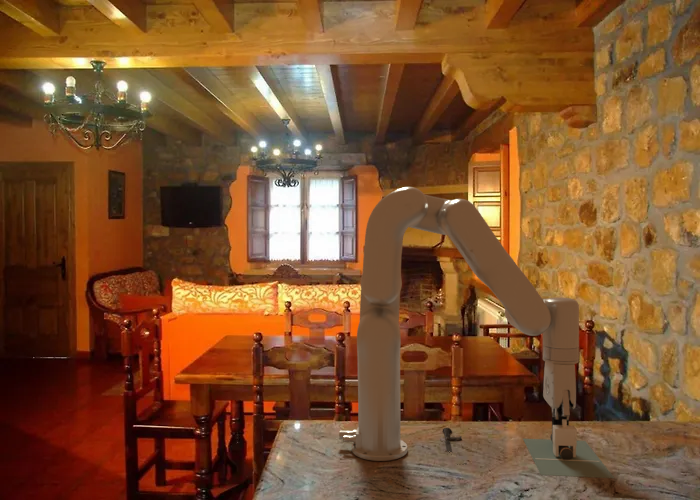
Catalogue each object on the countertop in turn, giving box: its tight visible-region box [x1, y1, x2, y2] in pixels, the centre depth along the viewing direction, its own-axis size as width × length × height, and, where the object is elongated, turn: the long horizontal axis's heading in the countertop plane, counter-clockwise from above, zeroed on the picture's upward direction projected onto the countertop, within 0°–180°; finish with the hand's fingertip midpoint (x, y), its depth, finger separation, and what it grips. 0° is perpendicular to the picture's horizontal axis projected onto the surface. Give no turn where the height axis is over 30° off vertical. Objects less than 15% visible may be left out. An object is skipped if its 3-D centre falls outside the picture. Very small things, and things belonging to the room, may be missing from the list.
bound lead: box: [549, 433, 573, 460], centre depth 123 cm, size 2×10×2 cm, turn 173°
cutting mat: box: [522, 438, 615, 479], centre depth 121 cm, size 14×20×1 cm
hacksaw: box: [442, 427, 468, 466], centre depth 127 cm, size 24×10×2 cm, turn 174°
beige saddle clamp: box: [553, 419, 578, 457], centre depth 121 cm, size 4×2×8 cm, turn 83°
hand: (560, 436), depth 124 cm, fingers closed
